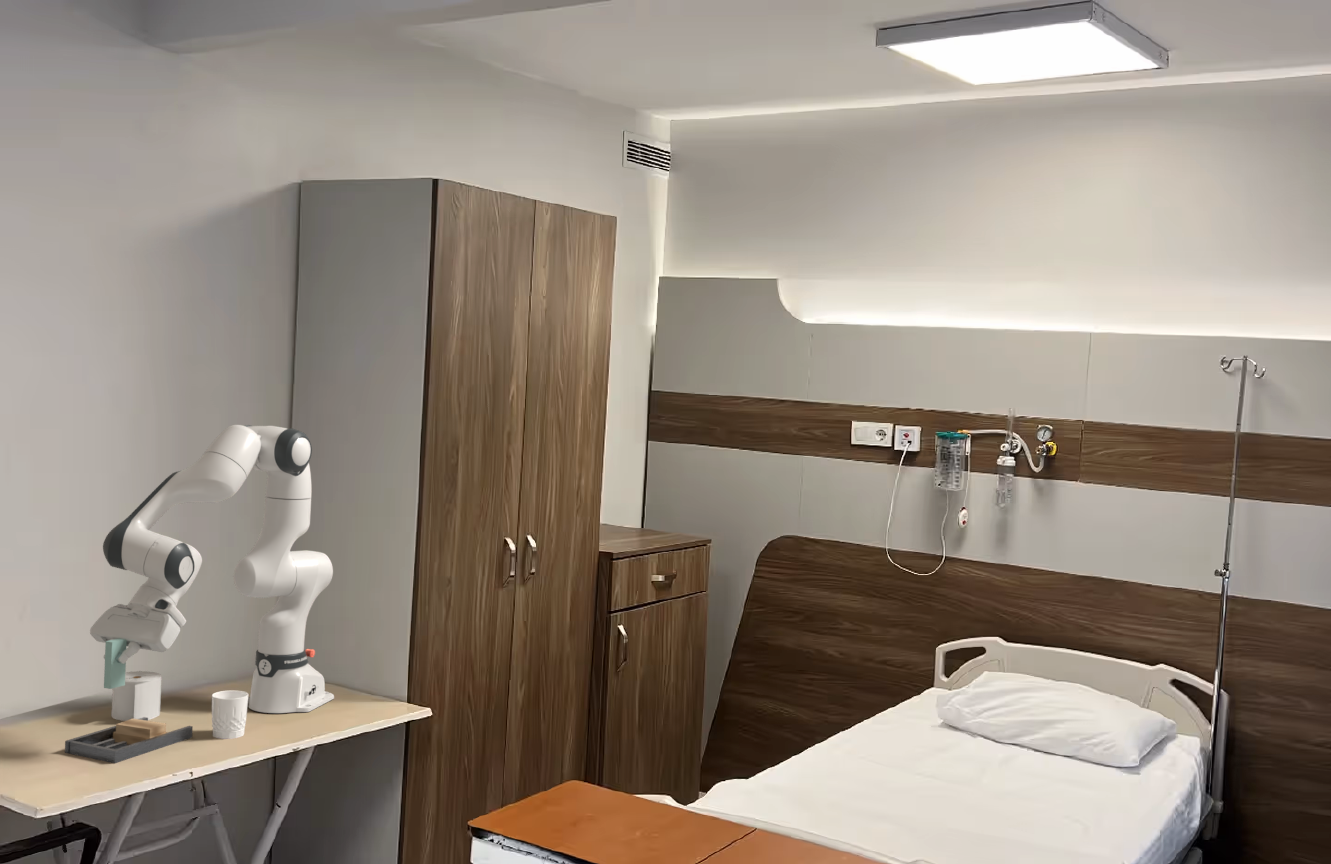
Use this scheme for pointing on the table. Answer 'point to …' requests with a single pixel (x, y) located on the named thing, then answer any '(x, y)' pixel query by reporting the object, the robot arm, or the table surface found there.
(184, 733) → the tray
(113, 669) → the sage board
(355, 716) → the table surface
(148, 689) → the toilet tissue
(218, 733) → the white cup
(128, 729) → the offcut stack
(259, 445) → the robot arm
